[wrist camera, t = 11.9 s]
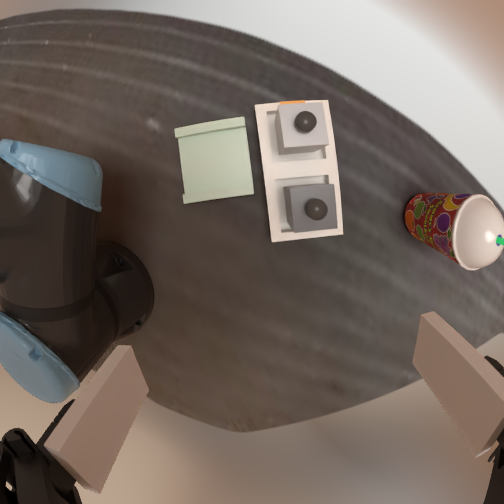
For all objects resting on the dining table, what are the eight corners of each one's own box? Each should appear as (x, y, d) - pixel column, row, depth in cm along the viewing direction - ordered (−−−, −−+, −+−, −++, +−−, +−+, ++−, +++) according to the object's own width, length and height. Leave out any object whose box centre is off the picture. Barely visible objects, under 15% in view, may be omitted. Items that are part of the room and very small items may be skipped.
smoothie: (392, 192, 35) (491, 209, 15) (435, 183, 34) (535, 195, 14) (400, 248, 37) (489, 302, 17) (441, 236, 36) (533, 275, 16)
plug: (279, 155, 33) (285, 145, 24) (274, 121, 32) (279, 100, 23) (314, 152, 33) (332, 142, 24) (309, 118, 32) (325, 98, 23)
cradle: (187, 202, 36) (183, 203, 34) (178, 130, 34) (174, 128, 32) (254, 193, 35) (253, 194, 34) (244, 119, 33) (244, 116, 31)
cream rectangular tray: (271, 237, 37) (274, 258, 27) (255, 110, 33) (252, 84, 23) (336, 230, 36) (363, 248, 26) (322, 106, 32) (344, 80, 22)
